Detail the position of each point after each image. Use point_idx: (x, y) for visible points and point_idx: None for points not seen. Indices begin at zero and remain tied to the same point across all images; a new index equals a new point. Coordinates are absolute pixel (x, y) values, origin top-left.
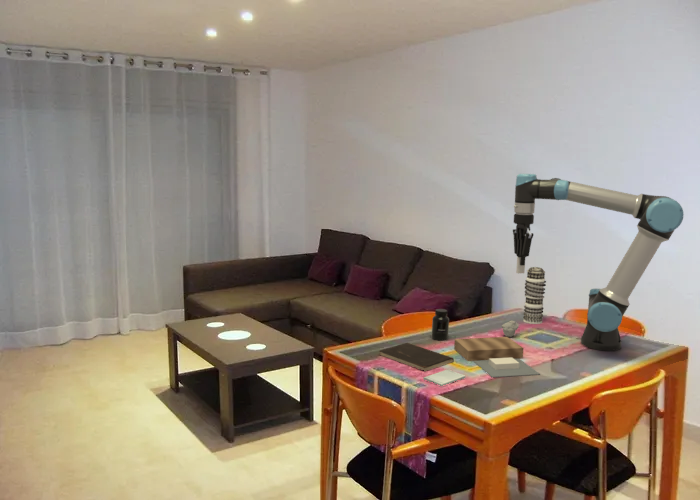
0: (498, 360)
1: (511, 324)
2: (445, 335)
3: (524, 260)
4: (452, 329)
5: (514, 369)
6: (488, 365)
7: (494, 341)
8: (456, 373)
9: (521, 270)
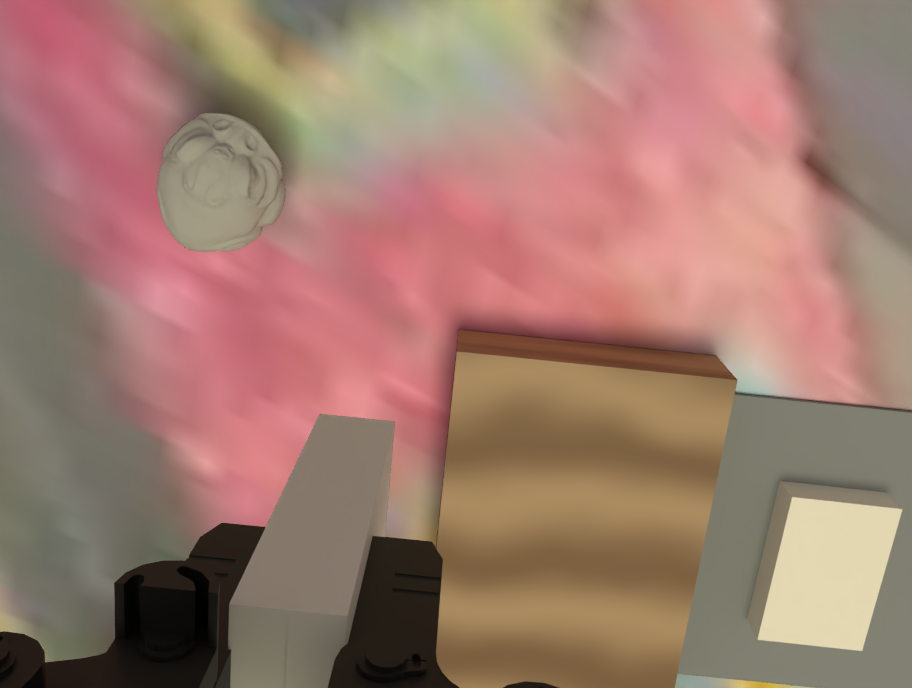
0: (810, 604)
1: (250, 204)
2: None
3: (436, 630)
4: (3, 503)
5: None
6: None
7: (538, 499)
8: None
9: (385, 509)
